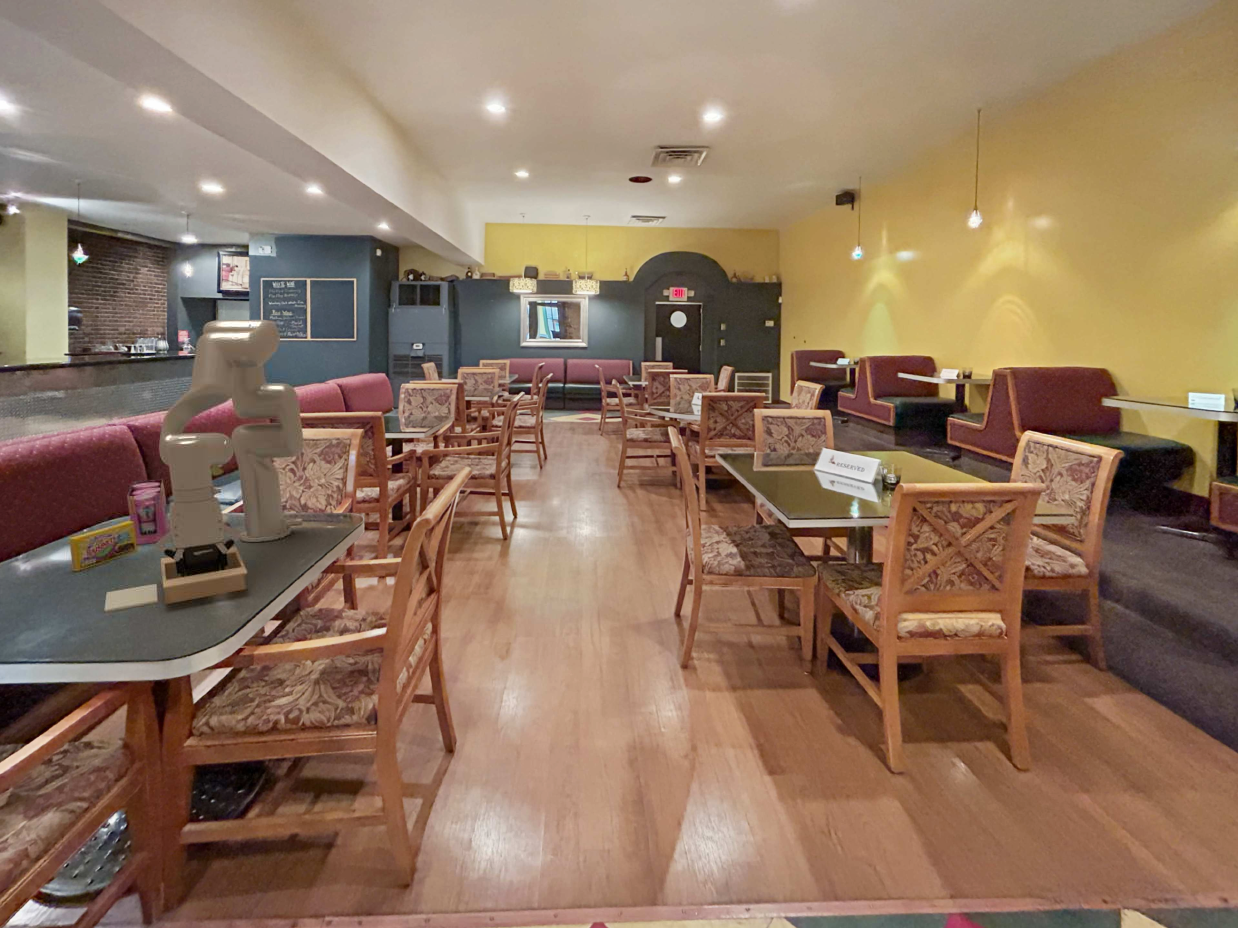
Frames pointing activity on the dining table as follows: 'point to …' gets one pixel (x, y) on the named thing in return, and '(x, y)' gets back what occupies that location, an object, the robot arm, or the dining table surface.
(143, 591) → the mat
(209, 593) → the carton
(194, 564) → the battery charger
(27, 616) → the dining table surface
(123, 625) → the dining table surface
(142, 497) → the gum box
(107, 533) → the candy box
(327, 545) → the dining table surface
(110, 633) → the dining table surface
